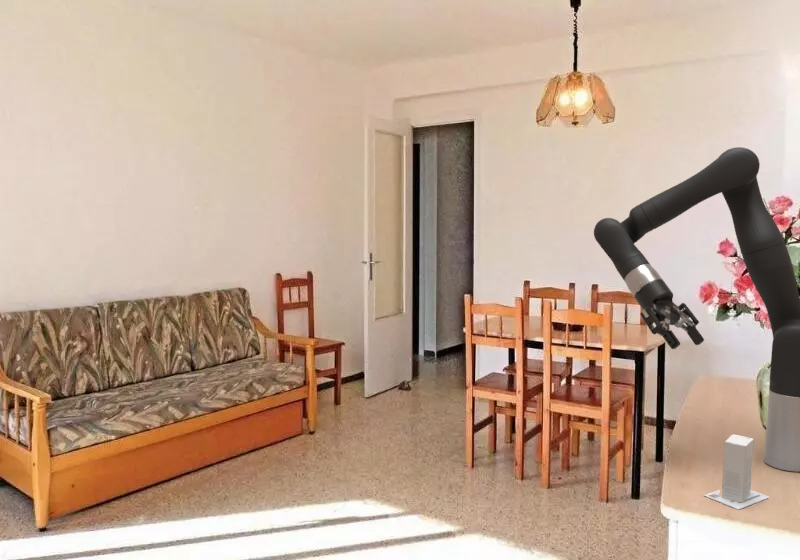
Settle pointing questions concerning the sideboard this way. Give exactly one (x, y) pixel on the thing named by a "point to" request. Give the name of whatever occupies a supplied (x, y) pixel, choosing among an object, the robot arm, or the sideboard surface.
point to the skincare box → (737, 468)
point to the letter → (750, 500)
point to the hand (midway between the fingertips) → (688, 345)
